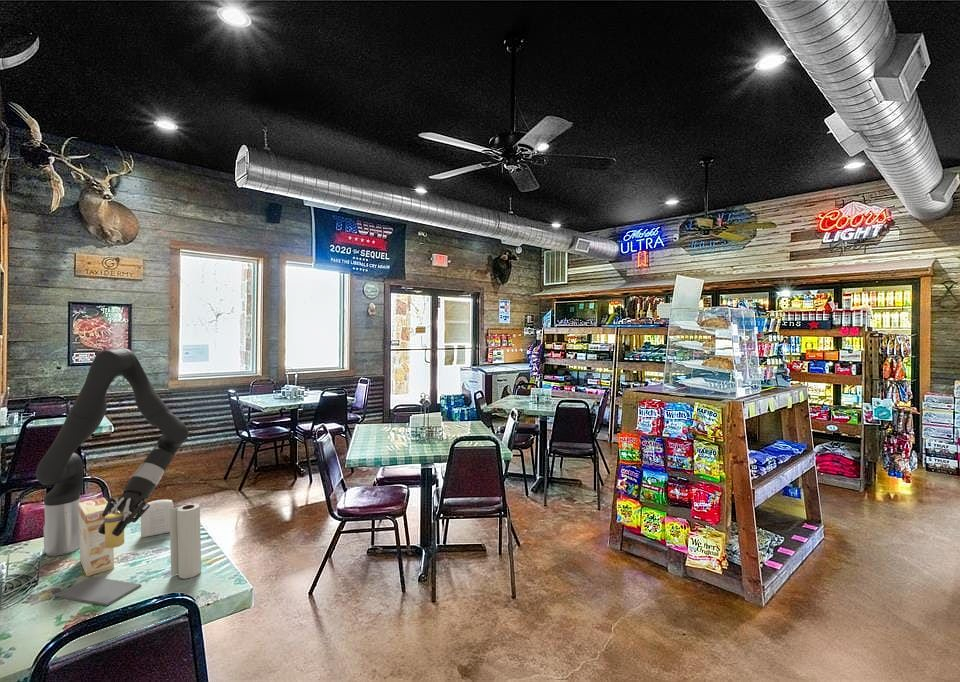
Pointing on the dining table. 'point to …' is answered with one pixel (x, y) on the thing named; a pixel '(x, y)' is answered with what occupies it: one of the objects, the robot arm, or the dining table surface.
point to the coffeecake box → (93, 538)
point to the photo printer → (156, 518)
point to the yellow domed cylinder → (110, 525)
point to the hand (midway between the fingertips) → (108, 533)
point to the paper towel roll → (185, 540)
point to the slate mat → (98, 590)
